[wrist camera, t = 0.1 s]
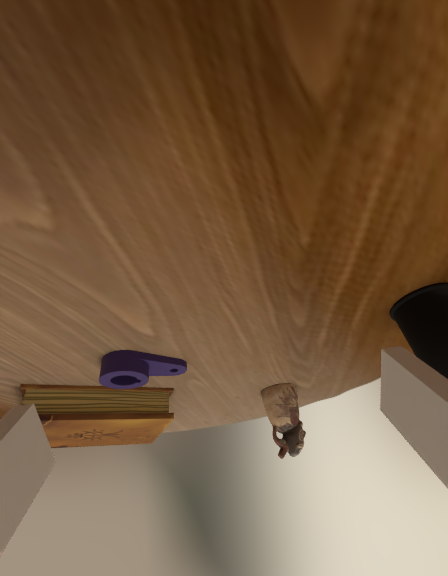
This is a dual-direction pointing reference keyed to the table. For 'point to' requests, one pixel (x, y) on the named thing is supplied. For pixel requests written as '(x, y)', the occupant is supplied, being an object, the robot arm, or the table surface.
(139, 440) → the diary
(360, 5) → the table surface
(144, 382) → the lever
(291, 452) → the figurine
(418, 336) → the aerosol can
